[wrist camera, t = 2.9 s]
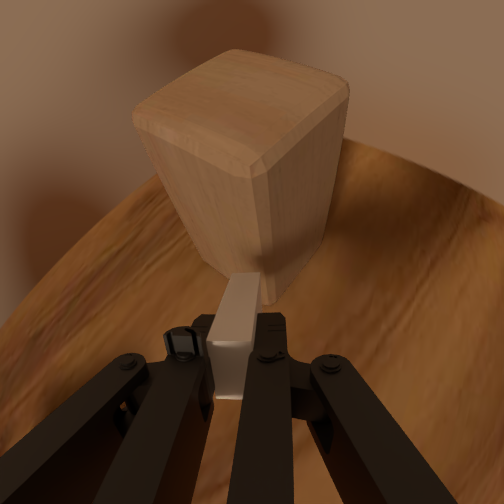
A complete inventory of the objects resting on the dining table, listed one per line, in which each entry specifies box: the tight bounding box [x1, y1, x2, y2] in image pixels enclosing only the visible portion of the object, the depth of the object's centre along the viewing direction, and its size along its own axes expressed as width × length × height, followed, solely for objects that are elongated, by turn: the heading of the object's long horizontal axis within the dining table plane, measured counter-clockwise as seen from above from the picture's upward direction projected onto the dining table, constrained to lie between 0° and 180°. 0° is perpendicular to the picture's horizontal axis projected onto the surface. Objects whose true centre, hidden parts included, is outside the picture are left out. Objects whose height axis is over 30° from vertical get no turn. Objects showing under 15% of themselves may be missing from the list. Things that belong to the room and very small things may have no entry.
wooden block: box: [132, 49, 350, 306], centre depth 23 cm, size 10×10×20 cm
